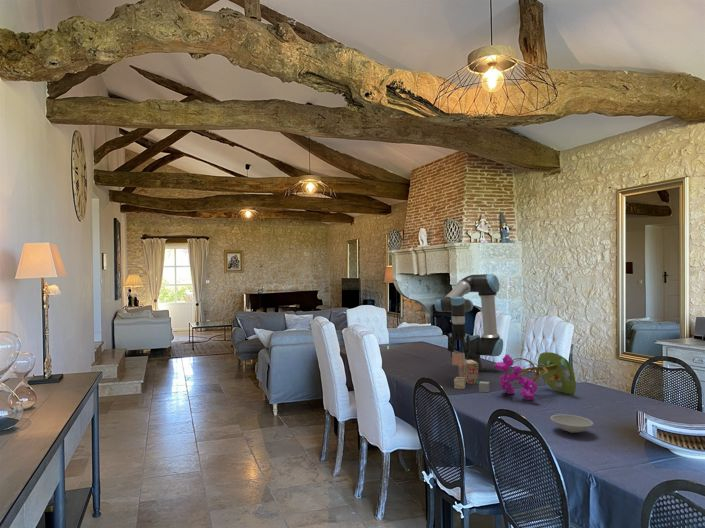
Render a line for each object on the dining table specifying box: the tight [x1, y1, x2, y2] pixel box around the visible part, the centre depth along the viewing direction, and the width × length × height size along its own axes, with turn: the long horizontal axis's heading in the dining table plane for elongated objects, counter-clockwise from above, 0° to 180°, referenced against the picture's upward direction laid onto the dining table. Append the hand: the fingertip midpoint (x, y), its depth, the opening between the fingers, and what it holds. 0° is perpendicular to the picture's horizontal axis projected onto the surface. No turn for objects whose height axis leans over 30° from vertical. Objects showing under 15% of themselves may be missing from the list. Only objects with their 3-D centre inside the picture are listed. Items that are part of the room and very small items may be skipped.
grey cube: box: [478, 380, 490, 394], centre depth 277 cm, size 5×5×5 cm
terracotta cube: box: [451, 352, 466, 366], centre depth 290 cm, size 6×6×6 cm
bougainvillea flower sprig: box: [494, 351, 577, 401], centre depth 265 cm, size 30×28×35 cm
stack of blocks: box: [457, 360, 479, 385], centre depth 308 cm, size 21×6×12 cm, turn 4°
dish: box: [550, 413, 594, 434], centre depth 202 cm, size 18×14×5 cm
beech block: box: [453, 376, 467, 390], centre depth 289 cm, size 9×6×5 cm, turn 162°
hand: (459, 363), depth 290 cm, fingers closed on terracotta cube, 6 cm apart
